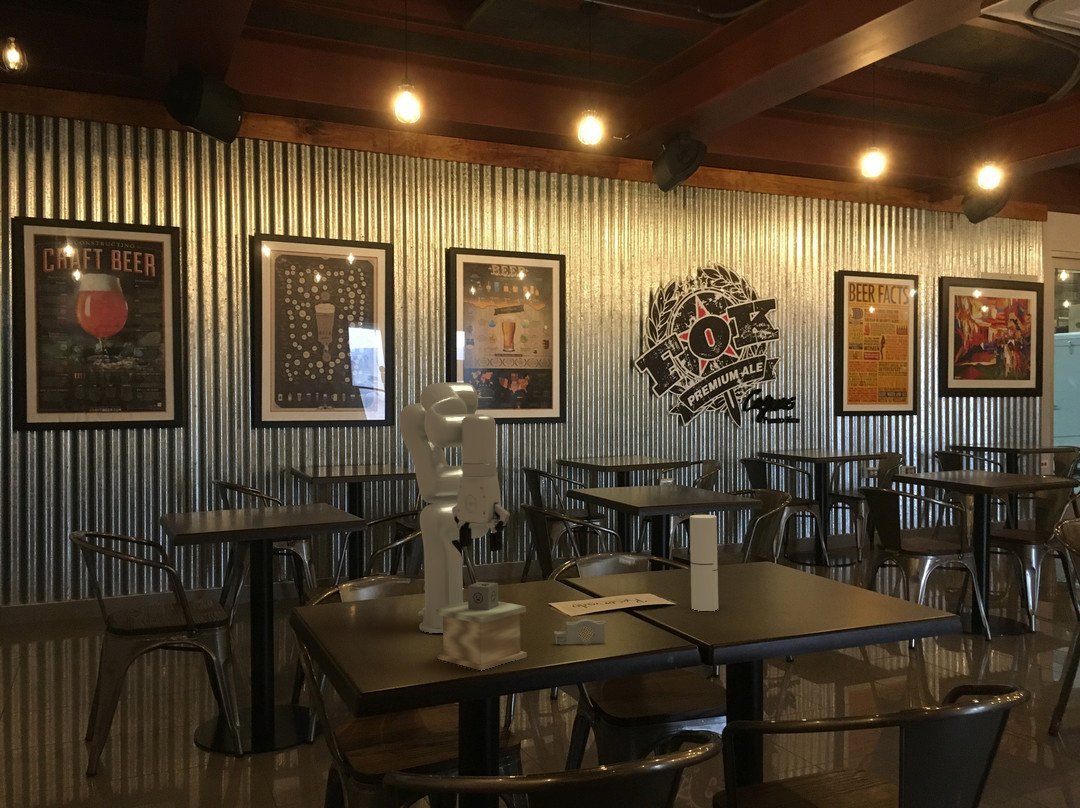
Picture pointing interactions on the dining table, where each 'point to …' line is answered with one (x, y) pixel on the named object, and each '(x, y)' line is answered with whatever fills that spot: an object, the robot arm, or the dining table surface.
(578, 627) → the garden wall model
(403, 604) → the dining table surface
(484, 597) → the gray face cube
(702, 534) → the cylindrical container
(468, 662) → the display pedestal
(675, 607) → the dining table surface
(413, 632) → the dining table surface
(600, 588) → the dining table surface
